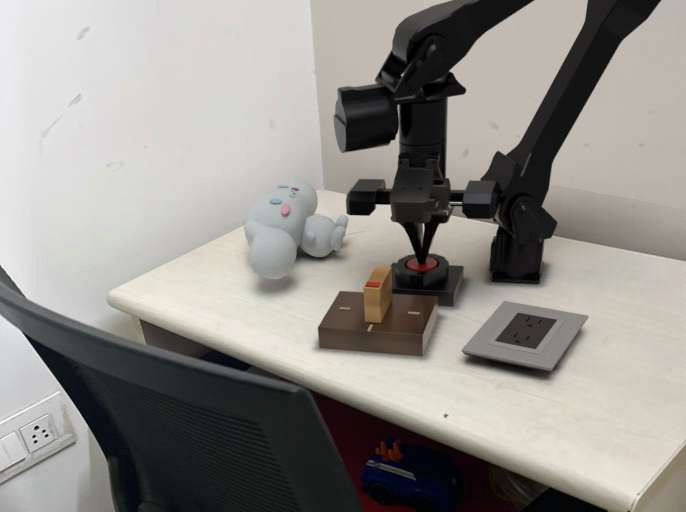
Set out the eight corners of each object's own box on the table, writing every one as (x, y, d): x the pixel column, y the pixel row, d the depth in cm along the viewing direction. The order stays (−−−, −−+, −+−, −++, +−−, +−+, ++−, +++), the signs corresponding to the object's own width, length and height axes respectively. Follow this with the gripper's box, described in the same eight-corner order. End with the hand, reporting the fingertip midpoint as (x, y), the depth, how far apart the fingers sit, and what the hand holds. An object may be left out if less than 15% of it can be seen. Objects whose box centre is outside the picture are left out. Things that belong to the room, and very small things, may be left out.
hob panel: (438, 317, 100) (438, 294, 97) (422, 357, 92) (422, 334, 90) (341, 311, 103) (339, 289, 101) (319, 349, 96) (317, 326, 94)
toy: (341, 259, 102) (237, 208, 100) (310, 323, 108) (211, 277, 106) (360, 191, 126) (276, 149, 123) (334, 247, 132) (254, 207, 130)
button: (439, 269, 105) (439, 257, 104) (433, 282, 102) (434, 270, 101) (410, 268, 106) (410, 256, 105) (404, 281, 103) (403, 268, 102)
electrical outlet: (549, 385, 86) (551, 366, 84) (461, 365, 90) (461, 347, 89) (585, 331, 94) (588, 313, 92) (502, 315, 98) (504, 298, 97)
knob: (377, 299, 98) (375, 264, 95) (392, 300, 98) (391, 264, 95) (364, 322, 94) (363, 285, 91) (380, 323, 93) (379, 286, 90)
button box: (463, 280, 107) (464, 252, 104) (453, 307, 101) (454, 278, 99) (392, 277, 110) (391, 249, 107) (379, 303, 104) (378, 275, 101)
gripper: (329, 160, 90) (338, 286, 100) (492, 162, 84) (484, 294, 94) (354, 131, 97) (360, 250, 108) (505, 130, 92) (496, 256, 102)
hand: (422, 262), depth 103 cm, fingers closed, pressing on button
